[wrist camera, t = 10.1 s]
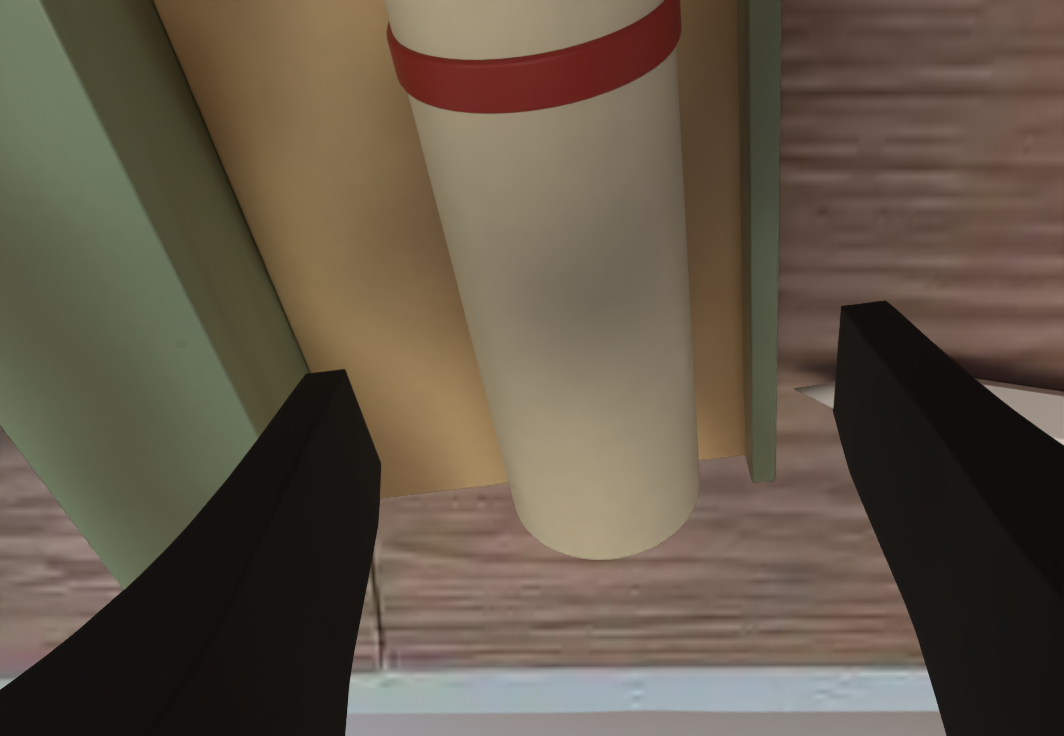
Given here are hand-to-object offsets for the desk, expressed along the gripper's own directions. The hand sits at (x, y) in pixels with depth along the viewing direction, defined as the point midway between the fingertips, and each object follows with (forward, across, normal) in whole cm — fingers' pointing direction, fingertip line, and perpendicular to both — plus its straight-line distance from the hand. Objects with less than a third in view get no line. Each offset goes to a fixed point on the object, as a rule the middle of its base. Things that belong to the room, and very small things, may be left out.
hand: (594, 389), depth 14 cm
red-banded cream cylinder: (+6, +2, 0) cm, 6 cm away
